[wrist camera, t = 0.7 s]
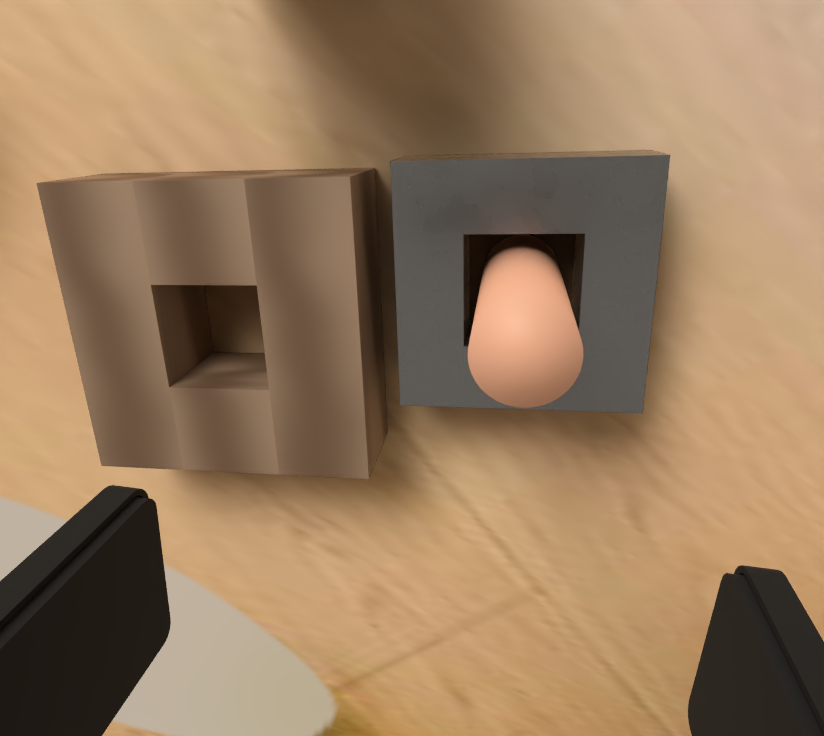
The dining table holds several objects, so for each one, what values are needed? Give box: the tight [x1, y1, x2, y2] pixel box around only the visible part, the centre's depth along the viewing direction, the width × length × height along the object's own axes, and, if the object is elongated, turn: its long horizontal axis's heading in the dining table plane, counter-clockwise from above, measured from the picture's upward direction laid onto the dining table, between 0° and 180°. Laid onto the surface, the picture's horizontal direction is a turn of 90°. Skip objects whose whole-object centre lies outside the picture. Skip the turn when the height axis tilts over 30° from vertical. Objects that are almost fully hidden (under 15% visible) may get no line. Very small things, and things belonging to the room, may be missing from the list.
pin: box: [468, 235, 583, 408], centre depth 26 cm, size 4×4×12 cm
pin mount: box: [390, 150, 670, 413], centre depth 30 cm, size 11×11×4 cm
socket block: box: [37, 168, 387, 479], centre depth 32 cm, size 14×14×5 cm
